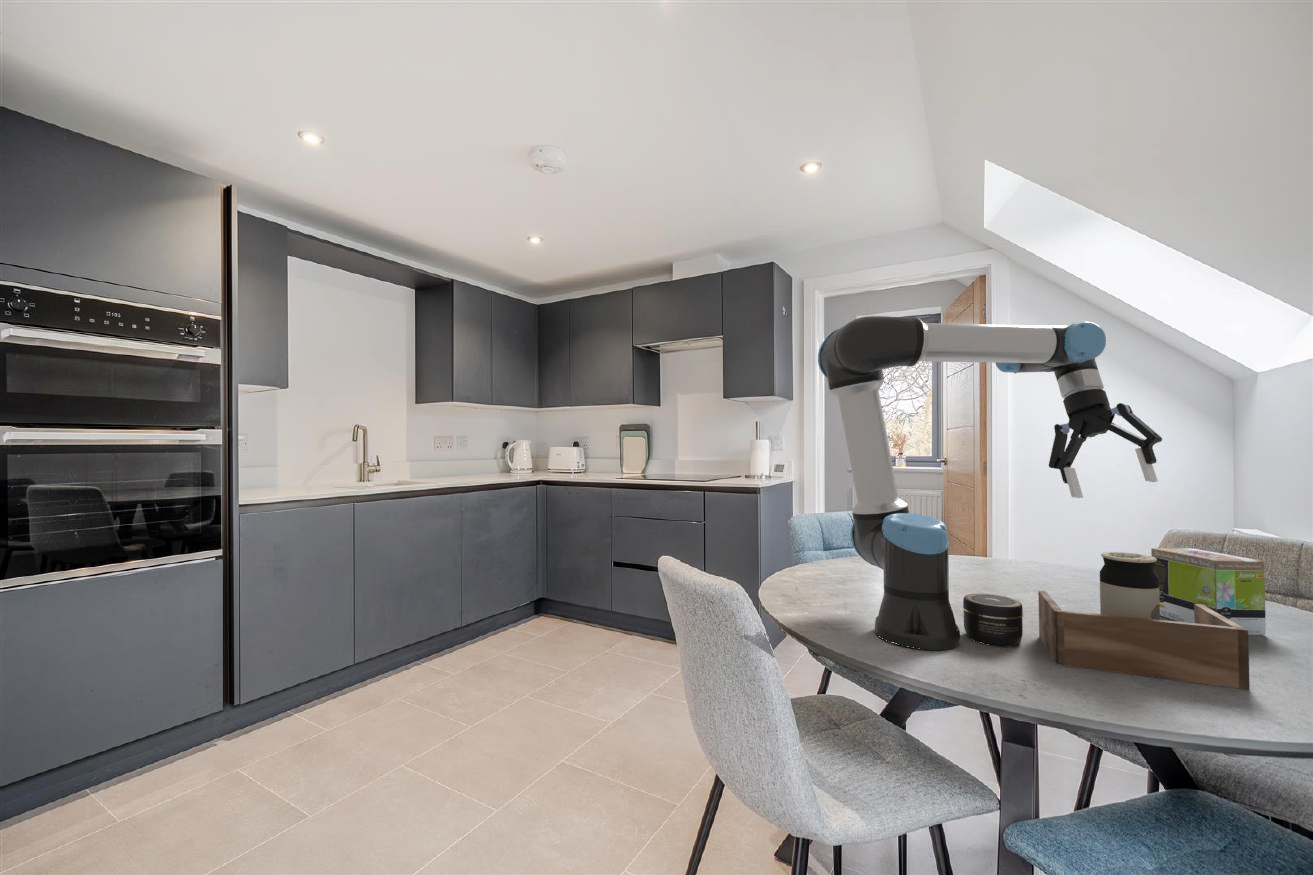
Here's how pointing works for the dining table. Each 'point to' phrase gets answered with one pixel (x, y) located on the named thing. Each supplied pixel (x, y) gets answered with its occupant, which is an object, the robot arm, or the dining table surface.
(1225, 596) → the tea box
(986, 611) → the jar
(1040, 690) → the dining table surface
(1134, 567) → the travel mug
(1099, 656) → the walnut crate
